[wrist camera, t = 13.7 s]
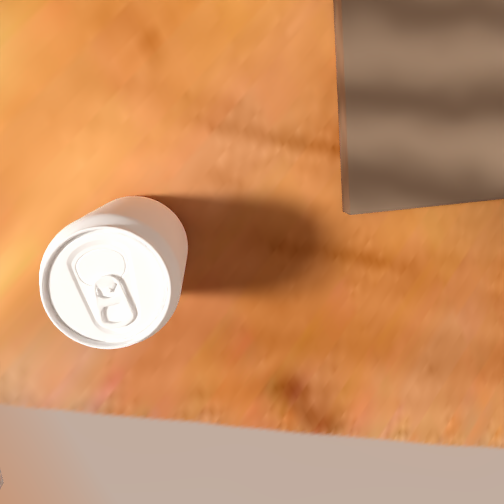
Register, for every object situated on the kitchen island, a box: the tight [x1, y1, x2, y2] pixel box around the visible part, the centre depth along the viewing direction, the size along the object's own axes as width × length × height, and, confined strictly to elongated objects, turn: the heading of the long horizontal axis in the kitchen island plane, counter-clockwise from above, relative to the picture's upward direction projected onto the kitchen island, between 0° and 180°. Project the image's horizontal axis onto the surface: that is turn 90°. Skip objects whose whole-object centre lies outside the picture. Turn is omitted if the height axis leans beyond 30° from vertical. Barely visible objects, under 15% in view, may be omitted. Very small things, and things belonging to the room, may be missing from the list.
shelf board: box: [333, 0, 504, 215], centre depth 35 cm, size 16×22×3 cm
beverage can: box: [39, 196, 188, 349], centre depth 31 cm, size 8×8×12 cm
